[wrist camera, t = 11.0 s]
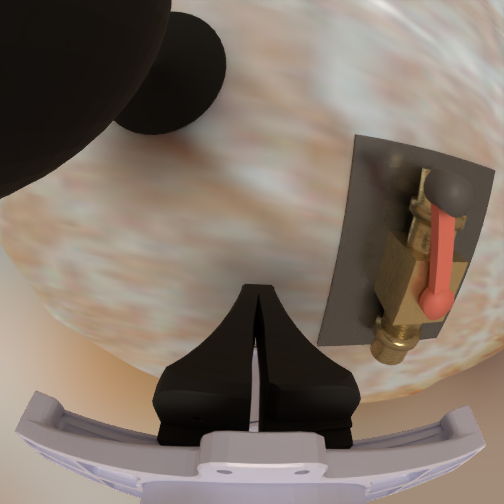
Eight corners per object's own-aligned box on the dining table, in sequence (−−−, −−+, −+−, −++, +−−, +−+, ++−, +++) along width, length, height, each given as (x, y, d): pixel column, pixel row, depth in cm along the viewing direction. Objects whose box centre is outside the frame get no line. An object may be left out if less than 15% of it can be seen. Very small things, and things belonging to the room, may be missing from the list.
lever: (445, 304, 19) (459, 323, 17) (417, 315, 19) (430, 335, 17) (452, 164, 14) (475, 174, 12) (418, 170, 14) (440, 181, 12)
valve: (435, 335, 29) (453, 367, 24) (317, 343, 29) (325, 384, 24) (492, 169, 19) (530, 186, 14) (355, 134, 19) (385, 142, 14)
